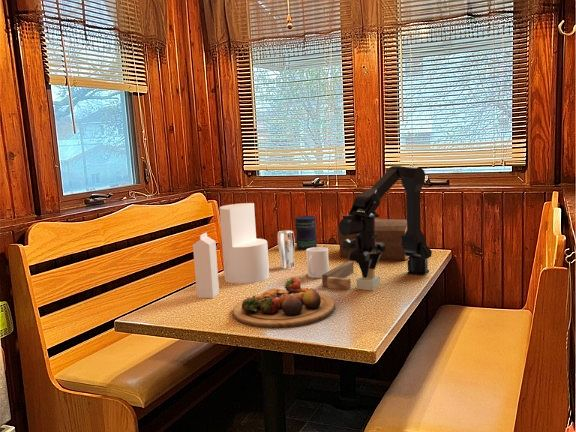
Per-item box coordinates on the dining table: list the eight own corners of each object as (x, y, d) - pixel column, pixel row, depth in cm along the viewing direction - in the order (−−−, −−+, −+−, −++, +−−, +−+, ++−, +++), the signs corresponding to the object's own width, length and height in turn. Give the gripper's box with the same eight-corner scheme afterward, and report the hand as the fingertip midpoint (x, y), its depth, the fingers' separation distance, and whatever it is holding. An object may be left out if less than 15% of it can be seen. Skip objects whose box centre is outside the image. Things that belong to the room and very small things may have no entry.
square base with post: (380, 285, 199) (379, 267, 198) (373, 290, 193) (372, 272, 192) (364, 284, 201) (363, 266, 200) (356, 289, 195) (356, 271, 194)
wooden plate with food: (269, 292, 198) (267, 269, 196) (352, 301, 181) (350, 276, 180) (211, 323, 171) (209, 297, 169) (303, 336, 154) (301, 308, 153)
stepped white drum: (215, 281, 215) (210, 209, 211) (240, 270, 230) (235, 202, 226) (254, 285, 207) (249, 209, 203) (277, 273, 222) (273, 203, 218)
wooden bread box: (353, 249, 260) (352, 214, 258) (417, 252, 246) (416, 216, 244) (338, 257, 245) (336, 221, 242) (405, 262, 231) (404, 223, 228)
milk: (197, 298, 195) (191, 235, 192) (203, 292, 201) (198, 232, 198) (213, 298, 194) (208, 235, 190) (219, 293, 199) (214, 231, 196)
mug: (318, 281, 207) (317, 254, 206) (299, 279, 211) (297, 252, 210) (332, 273, 217) (331, 247, 216) (313, 272, 222) (312, 246, 220)
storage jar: (317, 249, 262) (316, 218, 260) (296, 251, 262) (295, 219, 260) (316, 245, 272) (315, 215, 270) (296, 246, 272) (294, 216, 270)
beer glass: (276, 269, 229) (274, 233, 227) (283, 265, 236) (281, 230, 234) (292, 270, 227) (290, 233, 225) (298, 265, 233) (296, 230, 231)
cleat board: (373, 274, 213) (372, 262, 212) (348, 289, 194) (347, 277, 194) (348, 272, 218) (348, 261, 218) (322, 287, 200) (322, 274, 199)
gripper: (356, 225, 206) (357, 267, 208) (333, 235, 190) (335, 280, 193) (385, 227, 200) (386, 269, 203) (364, 236, 185) (365, 283, 187)
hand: (368, 275), depth 196 cm, fingers open, 5 cm apart
